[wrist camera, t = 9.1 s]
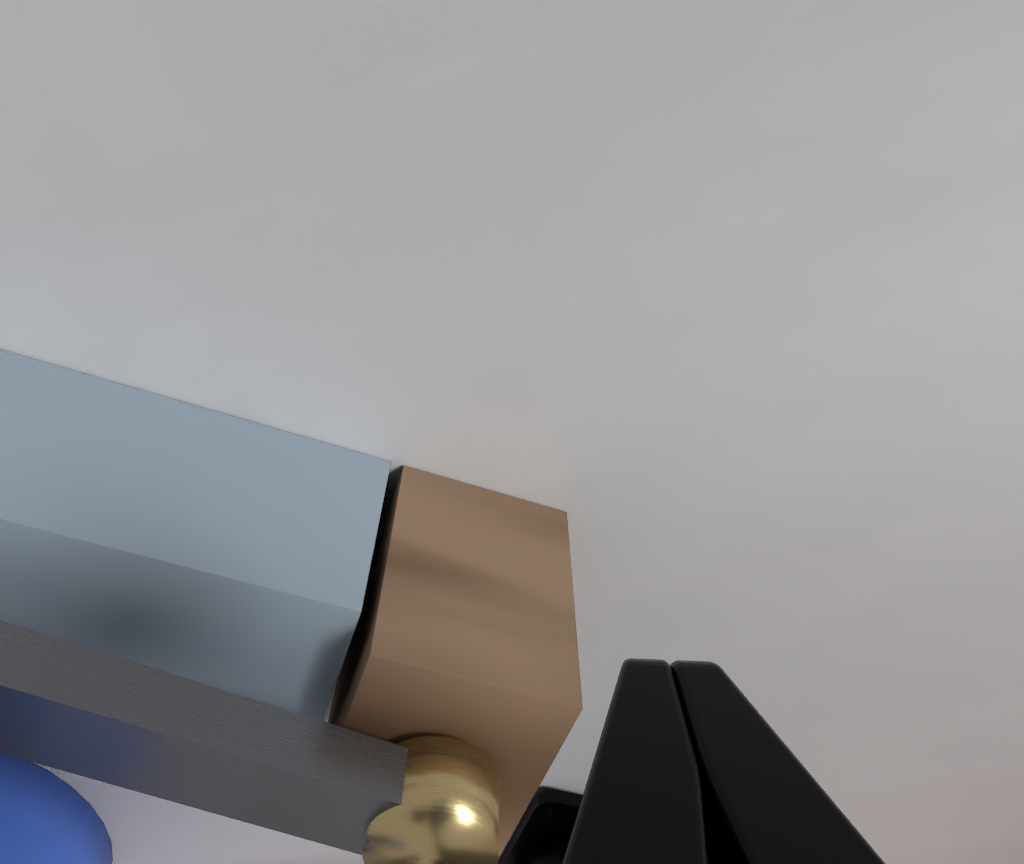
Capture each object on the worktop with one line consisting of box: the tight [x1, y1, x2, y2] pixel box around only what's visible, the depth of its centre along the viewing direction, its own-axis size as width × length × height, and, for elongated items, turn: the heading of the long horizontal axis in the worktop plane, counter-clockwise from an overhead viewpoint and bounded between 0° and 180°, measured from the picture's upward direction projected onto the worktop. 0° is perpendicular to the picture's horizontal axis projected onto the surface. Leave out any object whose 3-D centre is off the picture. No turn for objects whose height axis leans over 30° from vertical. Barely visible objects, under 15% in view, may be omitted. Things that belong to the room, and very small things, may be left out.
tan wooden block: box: [328, 466, 583, 857], centre depth 21 cm, size 5×4×6 cm
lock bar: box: [0, 620, 500, 864], centre depth 16 cm, size 13×2×2 cm, turn 65°
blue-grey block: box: [0, 350, 391, 721], centre depth 18 cm, size 5×13×8 cm, turn 71°
